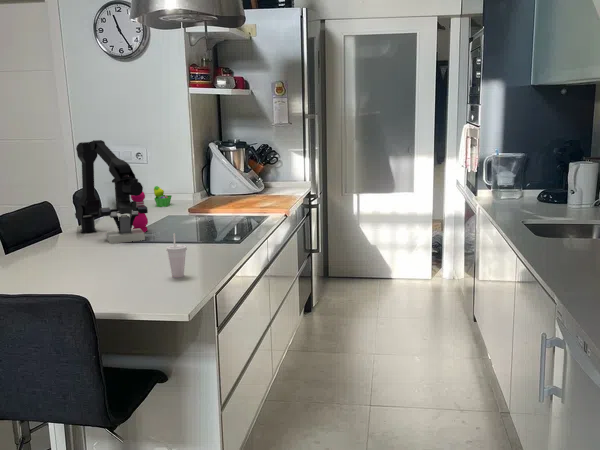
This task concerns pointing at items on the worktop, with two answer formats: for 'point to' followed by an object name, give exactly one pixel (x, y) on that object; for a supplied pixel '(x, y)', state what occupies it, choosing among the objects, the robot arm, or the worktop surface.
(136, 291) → the worktop surface
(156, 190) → the fruit basket
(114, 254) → the worktop surface
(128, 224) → the plug
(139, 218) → the pepper mill
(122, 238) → the socket plate
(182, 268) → the smoothie
